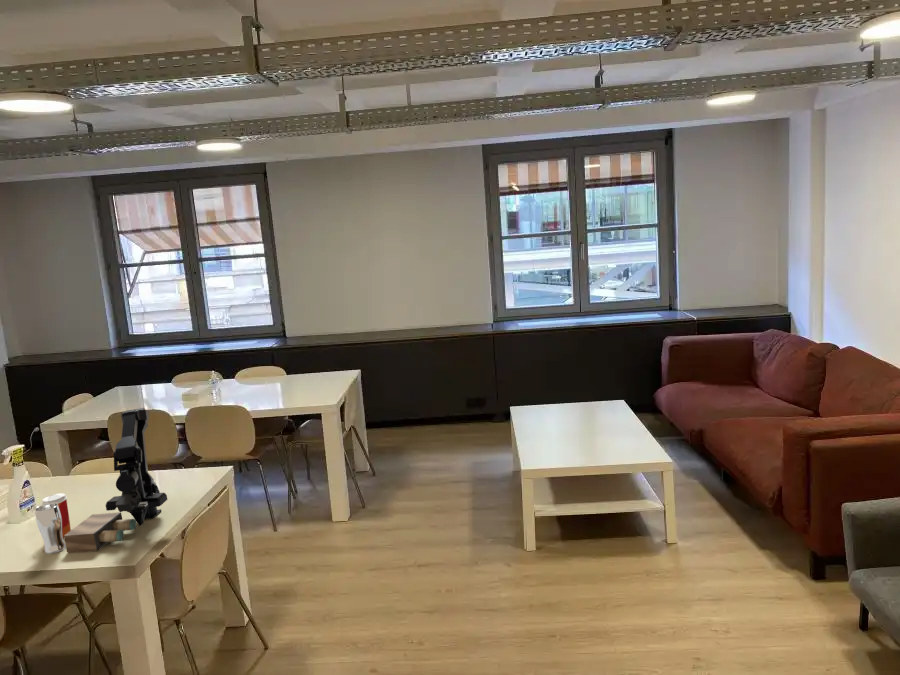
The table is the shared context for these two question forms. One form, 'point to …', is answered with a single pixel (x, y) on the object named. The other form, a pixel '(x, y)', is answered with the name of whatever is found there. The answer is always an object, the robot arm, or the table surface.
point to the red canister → (62, 504)
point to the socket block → (90, 533)
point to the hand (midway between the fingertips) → (141, 525)
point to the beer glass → (50, 527)
